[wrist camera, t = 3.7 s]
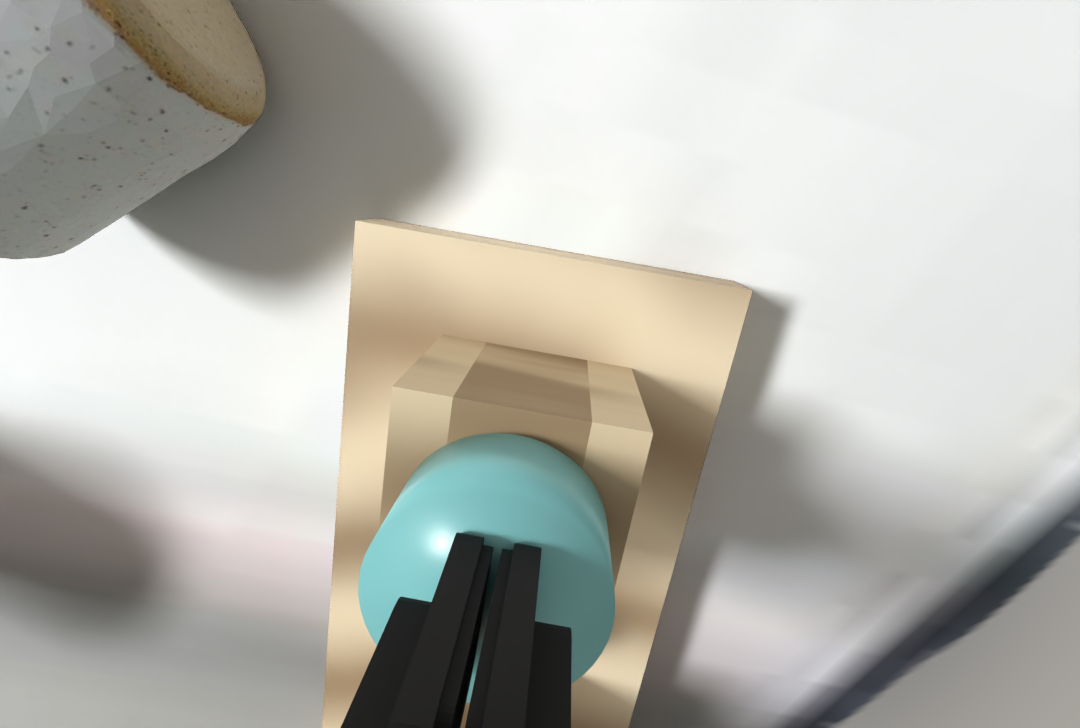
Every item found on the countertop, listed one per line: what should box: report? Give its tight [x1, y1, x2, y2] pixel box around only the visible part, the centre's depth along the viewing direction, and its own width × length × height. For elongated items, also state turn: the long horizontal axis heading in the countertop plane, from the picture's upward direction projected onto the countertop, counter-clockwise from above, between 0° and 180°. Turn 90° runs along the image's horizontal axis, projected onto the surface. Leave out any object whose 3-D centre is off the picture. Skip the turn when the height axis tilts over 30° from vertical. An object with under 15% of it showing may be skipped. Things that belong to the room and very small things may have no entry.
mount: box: [322, 218, 752, 728], centre depth 18 cm, size 24×12×7 cm, turn 170°
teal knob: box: [358, 433, 615, 703], centre depth 14 cm, size 5×5×8 cm
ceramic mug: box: [0, 0, 266, 259], centre depth 14 cm, size 11×8×8 cm
